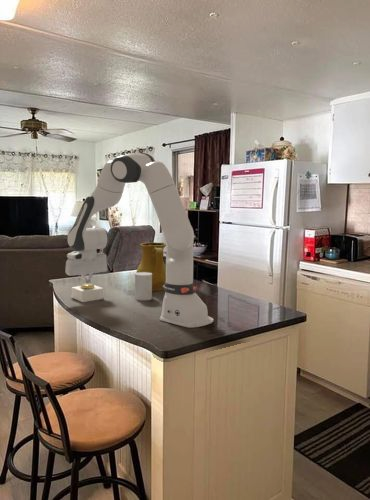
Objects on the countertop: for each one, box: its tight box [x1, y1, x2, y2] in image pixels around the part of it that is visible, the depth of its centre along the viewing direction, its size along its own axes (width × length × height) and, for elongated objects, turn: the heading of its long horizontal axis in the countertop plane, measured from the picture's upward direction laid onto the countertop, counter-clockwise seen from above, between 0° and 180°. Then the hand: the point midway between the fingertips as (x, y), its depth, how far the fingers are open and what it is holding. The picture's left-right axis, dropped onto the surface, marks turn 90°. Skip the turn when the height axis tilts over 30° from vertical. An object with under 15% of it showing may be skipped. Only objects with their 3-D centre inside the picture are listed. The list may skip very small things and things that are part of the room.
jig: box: [71, 284, 105, 303], centre depth 188 cm, size 11×11×5 cm
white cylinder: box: [134, 272, 153, 301], centre depth 190 cm, size 8×8×12 cm
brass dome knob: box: [80, 283, 95, 290], centre depth 188 cm, size 6×6×6 cm
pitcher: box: [135, 241, 167, 292], centre depth 208 cm, size 17×19×25 cm
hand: (87, 282), depth 187 cm, fingers closed
